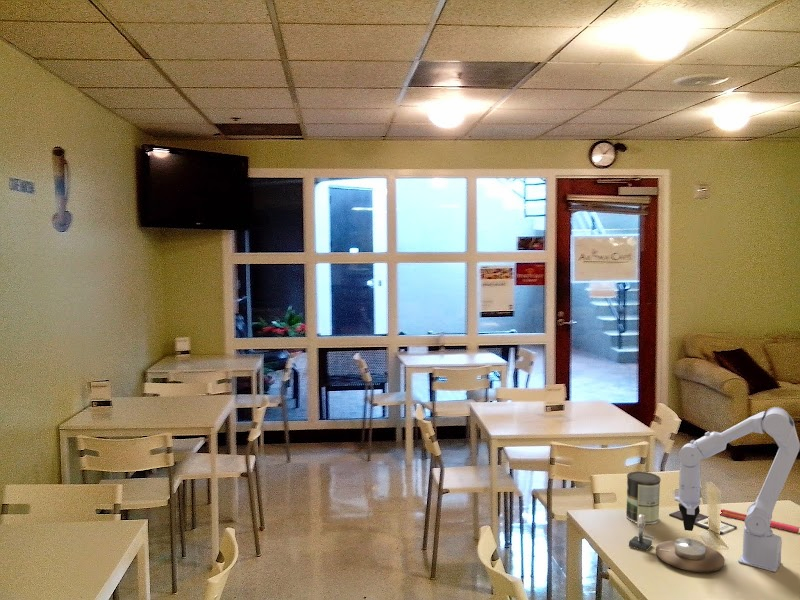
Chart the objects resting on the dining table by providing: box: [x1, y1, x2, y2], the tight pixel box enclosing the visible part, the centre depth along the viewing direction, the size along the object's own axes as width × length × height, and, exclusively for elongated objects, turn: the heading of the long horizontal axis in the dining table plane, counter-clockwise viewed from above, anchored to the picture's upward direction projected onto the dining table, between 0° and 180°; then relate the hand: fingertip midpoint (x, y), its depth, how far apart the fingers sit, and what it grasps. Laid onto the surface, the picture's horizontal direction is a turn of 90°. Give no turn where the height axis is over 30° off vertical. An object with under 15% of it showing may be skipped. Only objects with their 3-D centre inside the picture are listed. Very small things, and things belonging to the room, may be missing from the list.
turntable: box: [655, 539, 726, 573], centre depth 192 cm, size 18×18×1 cm
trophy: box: [628, 514, 655, 552], centre depth 200 cm, size 6×5×10 cm
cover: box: [674, 537, 706, 561], centre depth 192 cm, size 8×8×3 cm
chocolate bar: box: [669, 510, 738, 536], centre depth 219 cm, size 9×1×18 cm
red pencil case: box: [720, 508, 800, 534], centre depth 219 cm, size 24×2×5 cm
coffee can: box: [625, 471, 662, 525], centre depth 221 cm, size 10×10×14 cm
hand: (688, 529), depth 200 cm, fingers closed
